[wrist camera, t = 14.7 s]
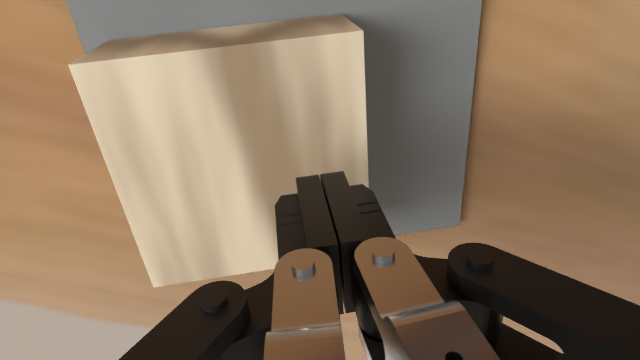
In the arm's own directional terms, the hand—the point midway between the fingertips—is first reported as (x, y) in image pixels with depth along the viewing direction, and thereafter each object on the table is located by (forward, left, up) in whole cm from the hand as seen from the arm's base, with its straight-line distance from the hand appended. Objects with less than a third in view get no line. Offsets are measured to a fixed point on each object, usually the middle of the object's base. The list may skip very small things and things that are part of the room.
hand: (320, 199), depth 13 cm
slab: (-2, 0, -4) cm, 5 cm away
